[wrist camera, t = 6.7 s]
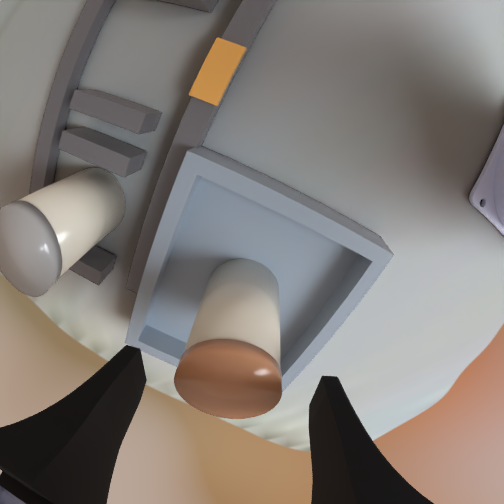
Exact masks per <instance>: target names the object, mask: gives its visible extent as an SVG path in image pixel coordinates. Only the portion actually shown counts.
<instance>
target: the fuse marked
mask: <svg viewBox="0 0 504 504" xmlns="http://www.w3.org/2000/svg"><path fill="white" fill-rule="evenodd" d="M174 383H175V387H176V390H177V392H178V393H179V395H180V396H181V397H182V398H183V399H184V400H185V401H186V402H187V403H188V404H190V405H191V406H193V407H194V408H196V409H198V410H200V411H202V412H204V413H207V414H210V415H213V416H217V417H222V418H229V419H244V418H251V417H256V416H259V415H262V414H264V413H266V412H268V411H270V410H271V409H273V408H274V407H275V406H276V405H277V404H278V402H279V401H280V399H281V395H282V372H281V367H280V299H279V284H278V281H277V279H276V277H275V275H274V274H273V273H272V272H271V271H270V270H269V269H268V268H267V267H266V266H264V265H263V264H261V263H259V262H256V261H253V260H249V259H234V260H230V261H227V262H225V263H223V264H221V265H219V266H218V267H217V268H216V269H215V270H214V271H213V272H212V274H211V276H210V278H209V281H208V283H207V286H206V289H205V292H204V295H203V297H202V300H201V303H200V306H199V309H198V312H197V315H196V318H195V320H194V323H193V326H192V329H191V332H190V335H189V338H188V341H187V344H186V347H185V350H184V353H183V354H182V356H181V358H180V361H179V364H178V367H177V370H176V373H175V377H174Z"/></svg>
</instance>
